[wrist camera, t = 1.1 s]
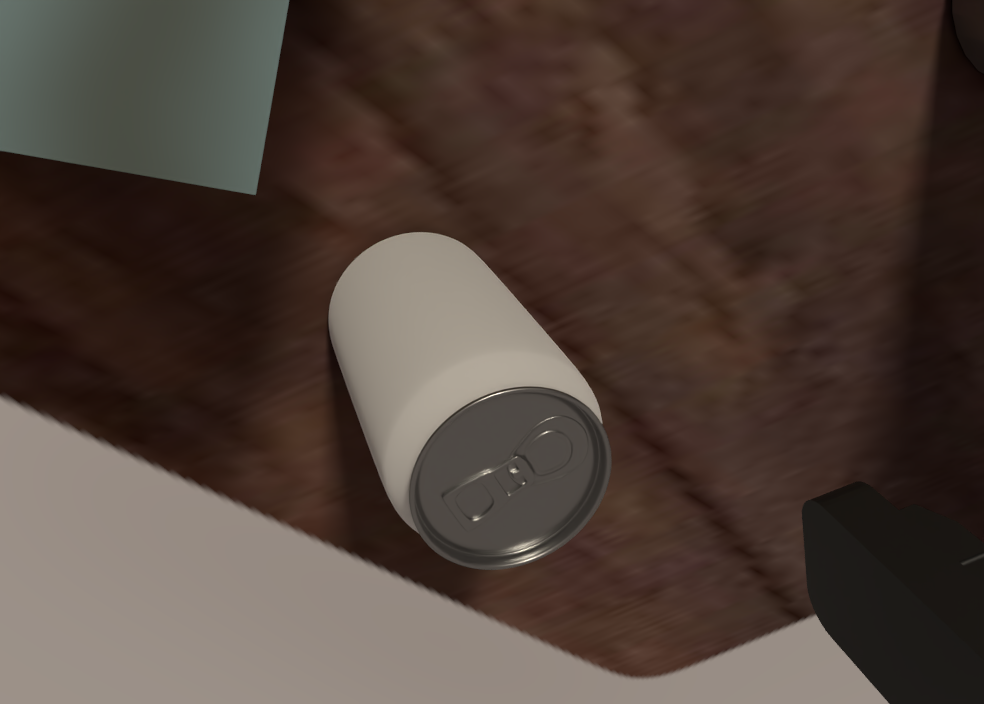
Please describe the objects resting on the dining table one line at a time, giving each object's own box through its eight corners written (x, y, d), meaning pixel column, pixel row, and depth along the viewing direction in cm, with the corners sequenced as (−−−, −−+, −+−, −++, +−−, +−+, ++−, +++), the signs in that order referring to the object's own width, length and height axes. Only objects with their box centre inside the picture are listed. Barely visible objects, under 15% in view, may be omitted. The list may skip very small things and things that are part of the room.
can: (523, 328, 37) (661, 496, 26) (383, 418, 37) (467, 622, 26) (444, 193, 33) (566, 325, 23) (290, 291, 33) (344, 468, 23)
